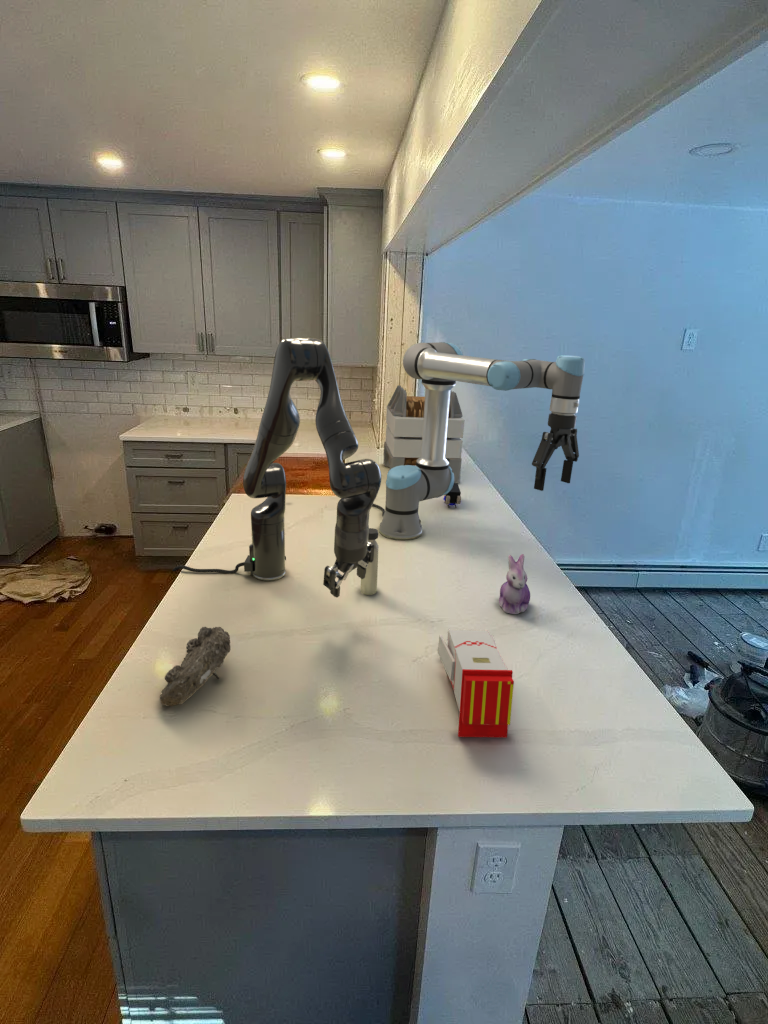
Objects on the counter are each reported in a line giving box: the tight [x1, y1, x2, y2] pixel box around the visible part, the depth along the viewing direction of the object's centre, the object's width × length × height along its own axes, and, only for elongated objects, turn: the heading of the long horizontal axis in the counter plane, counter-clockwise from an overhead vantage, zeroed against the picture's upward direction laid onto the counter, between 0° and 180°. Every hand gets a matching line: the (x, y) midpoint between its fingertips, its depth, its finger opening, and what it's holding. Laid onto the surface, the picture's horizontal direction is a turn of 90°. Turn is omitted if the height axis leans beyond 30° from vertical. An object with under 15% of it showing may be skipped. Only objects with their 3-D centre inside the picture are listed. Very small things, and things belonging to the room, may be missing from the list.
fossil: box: [159, 626, 232, 707], centre depth 118 cm, size 22×10×15 cm
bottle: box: [360, 539, 379, 596], centre depth 156 cm, size 4×4×18 cm
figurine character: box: [442, 483, 462, 509], centre depth 232 cm, size 7×8×15 cm
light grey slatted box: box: [383, 384, 465, 484], centre depth 268 cm, size 34×33×41 cm
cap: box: [368, 527, 379, 541], centre depth 153 cm, size 4×4×2 cm
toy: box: [437, 628, 515, 738], centre depth 117 cm, size 12×13×30 cm
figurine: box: [498, 553, 531, 615], centre depth 151 cm, size 9×10×15 cm
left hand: (348, 585), depth 137 cm, fingers open, 8 cm apart
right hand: (552, 485), depth 166 cm, fingers open, 13 cm apart
